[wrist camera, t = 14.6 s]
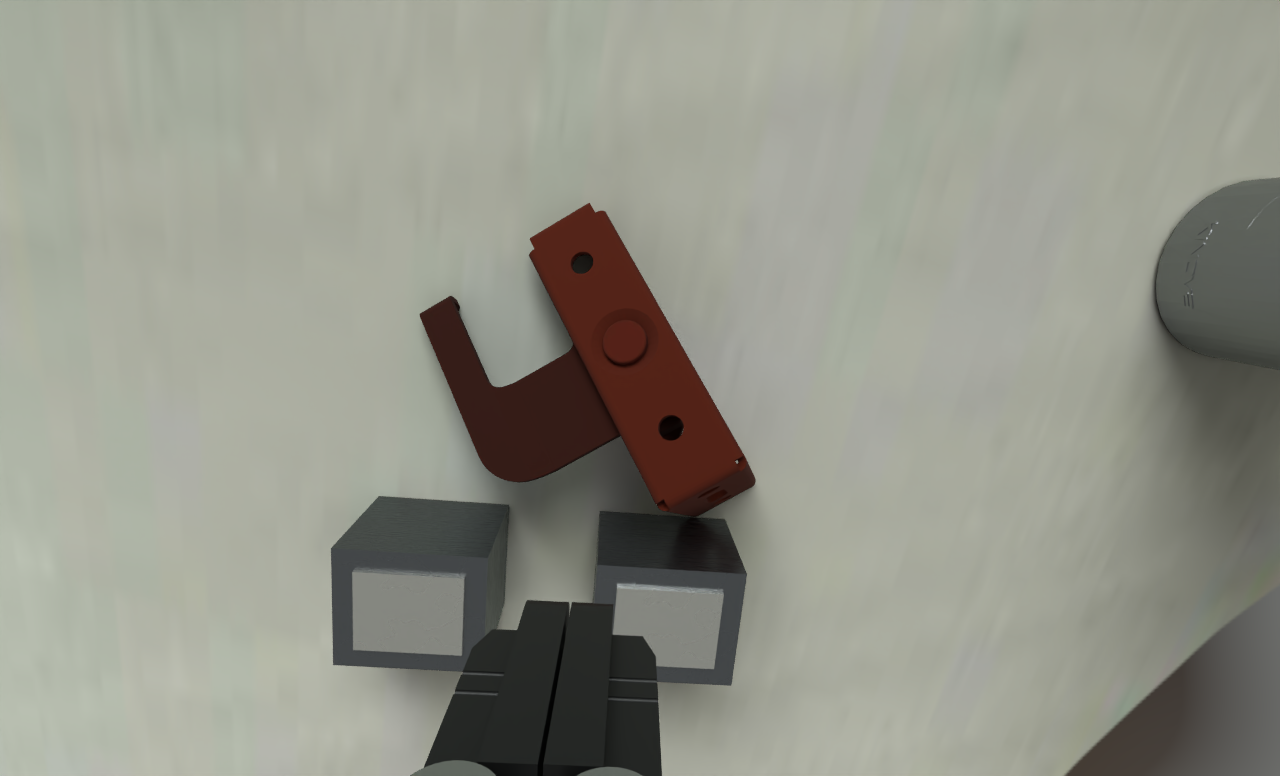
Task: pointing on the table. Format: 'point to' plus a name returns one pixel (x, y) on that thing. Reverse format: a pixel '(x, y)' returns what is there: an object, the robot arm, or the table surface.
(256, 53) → the table surface
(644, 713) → the robot arm
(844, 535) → the table surface
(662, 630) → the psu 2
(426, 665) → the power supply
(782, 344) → the table surface
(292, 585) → the table surface
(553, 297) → the bracket
